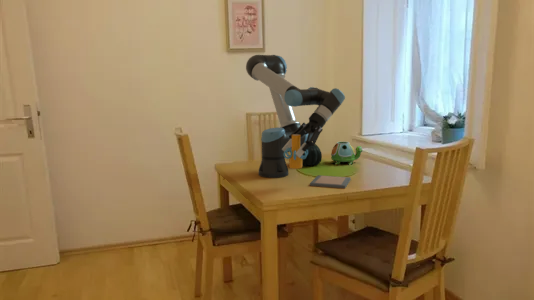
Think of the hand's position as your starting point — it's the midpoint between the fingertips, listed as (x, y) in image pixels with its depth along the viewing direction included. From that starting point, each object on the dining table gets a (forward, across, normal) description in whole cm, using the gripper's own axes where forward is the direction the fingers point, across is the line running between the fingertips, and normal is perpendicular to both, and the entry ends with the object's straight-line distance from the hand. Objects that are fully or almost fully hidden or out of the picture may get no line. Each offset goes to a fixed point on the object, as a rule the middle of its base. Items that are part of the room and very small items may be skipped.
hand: (290, 153), depth 190 cm
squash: (-11, +35, -34) cm, 50 cm away
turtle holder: (-27, +29, -49) cm, 63 cm away
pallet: (-3, -4, -24) cm, 25 cm away
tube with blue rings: (+3, 0, -7) cm, 8 cm away
